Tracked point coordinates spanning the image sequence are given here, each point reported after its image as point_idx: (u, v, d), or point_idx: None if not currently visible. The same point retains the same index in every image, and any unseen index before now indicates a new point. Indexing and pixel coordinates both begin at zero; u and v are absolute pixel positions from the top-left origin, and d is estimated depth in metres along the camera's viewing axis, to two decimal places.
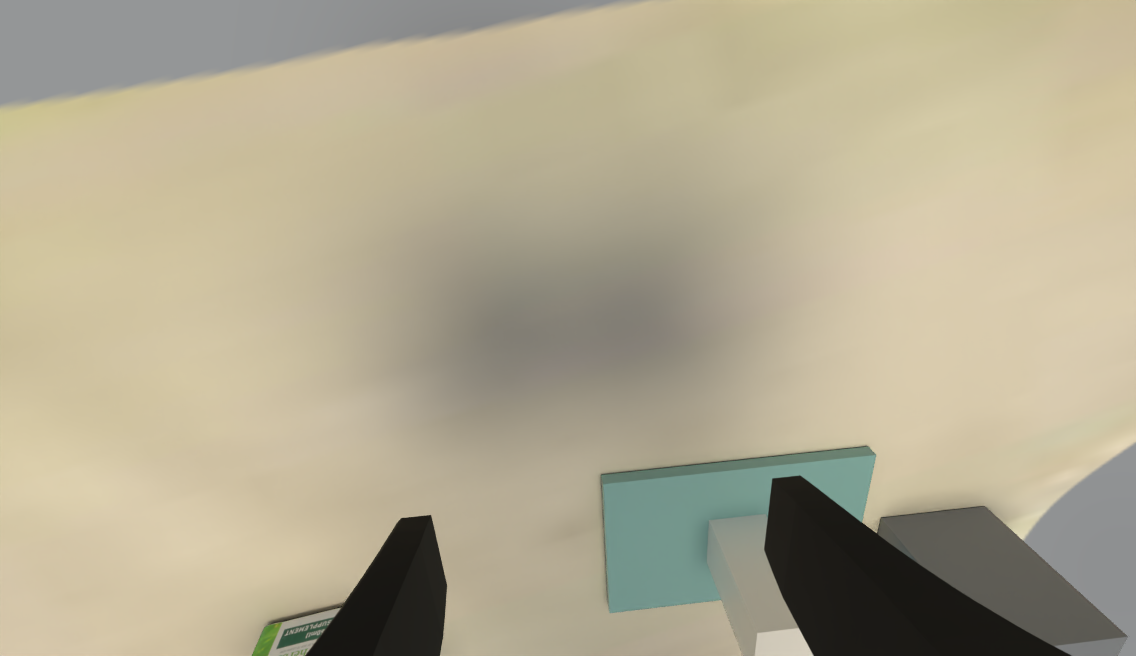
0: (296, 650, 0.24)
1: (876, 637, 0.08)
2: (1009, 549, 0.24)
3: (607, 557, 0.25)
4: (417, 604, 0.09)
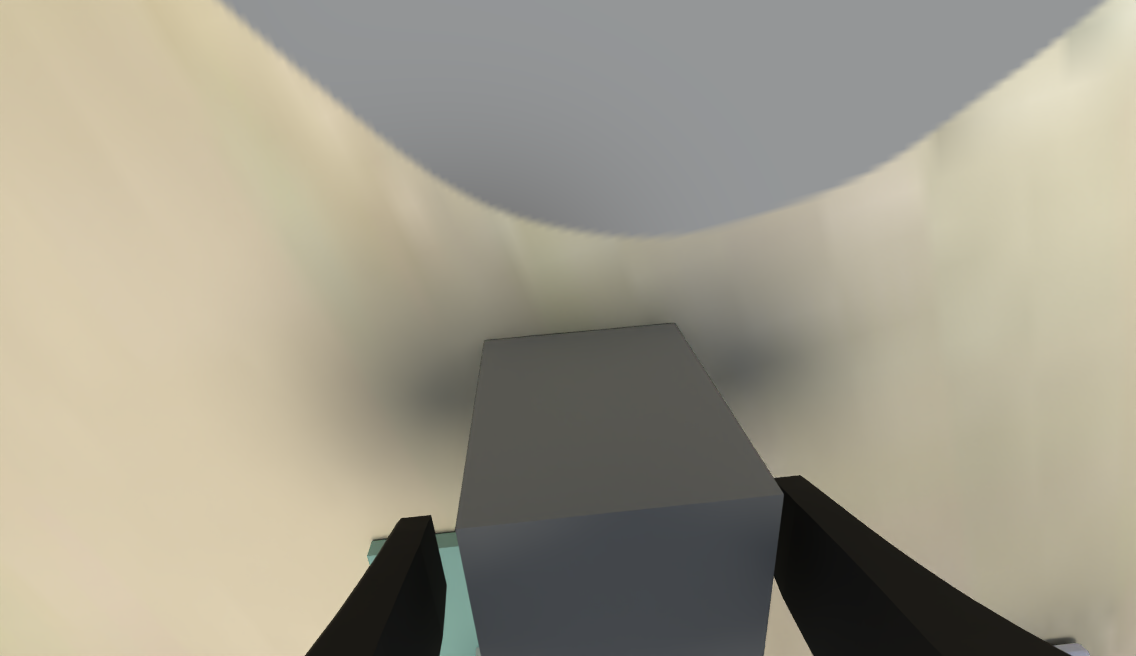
0: None
1: (876, 637, 0.08)
2: None
3: None
4: (417, 604, 0.09)
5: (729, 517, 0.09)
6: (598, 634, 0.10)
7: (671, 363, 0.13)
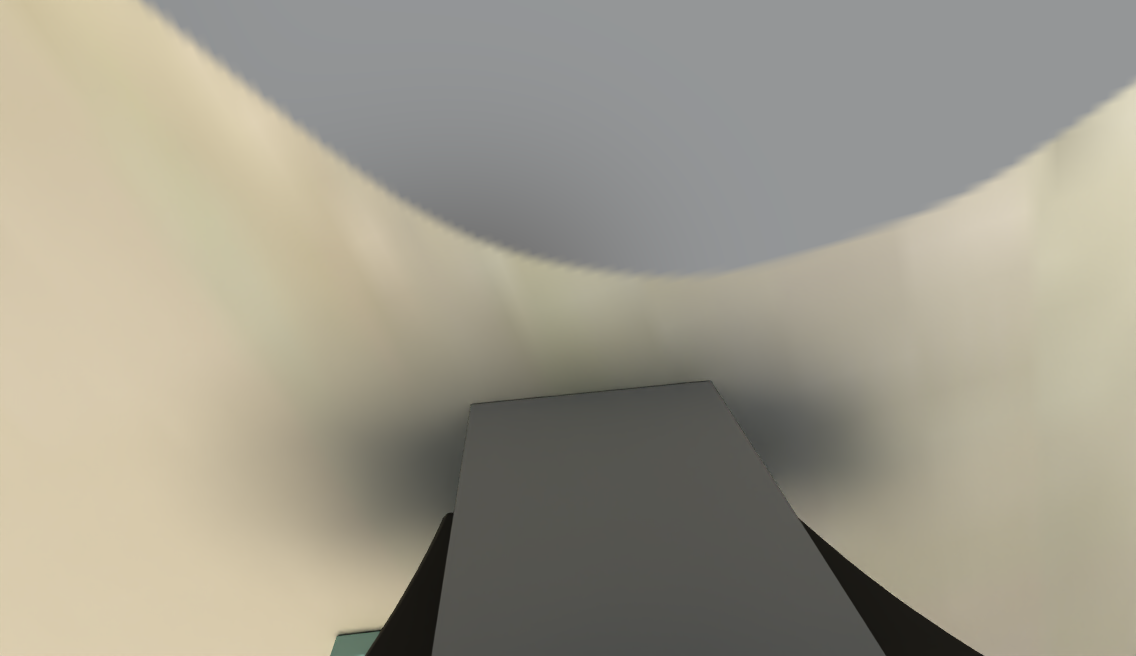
0: None
1: None
2: None
3: None
4: None
5: None
6: None
7: (714, 446, 0.10)
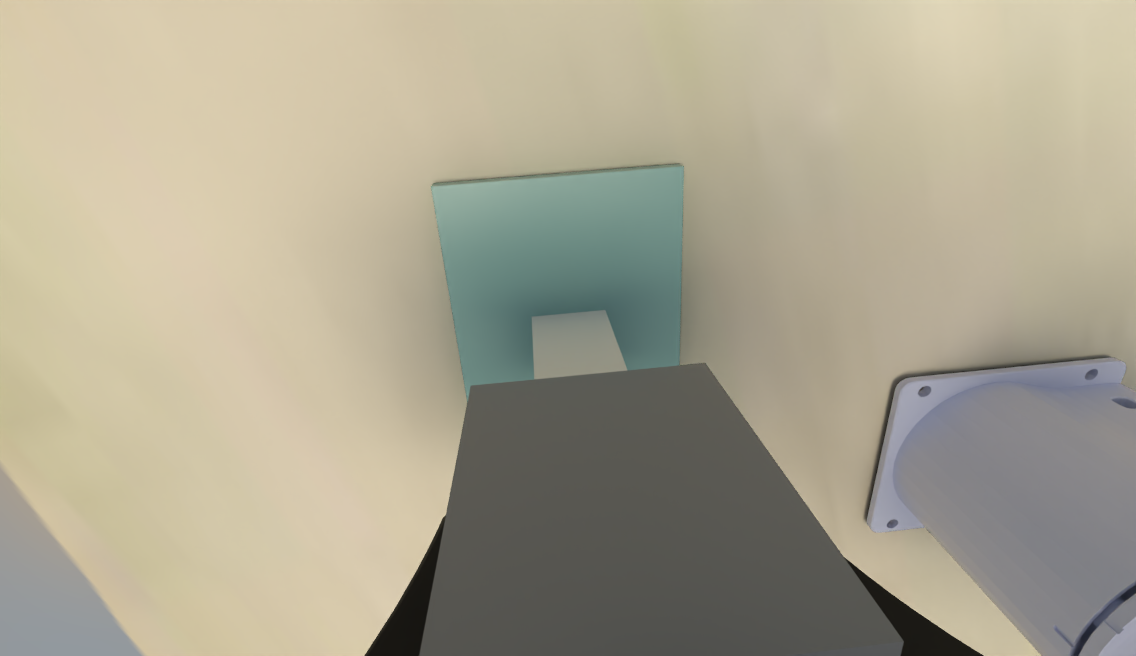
0: None
1: None
2: None
3: None
4: None
5: None
6: None
7: (707, 419, 0.10)
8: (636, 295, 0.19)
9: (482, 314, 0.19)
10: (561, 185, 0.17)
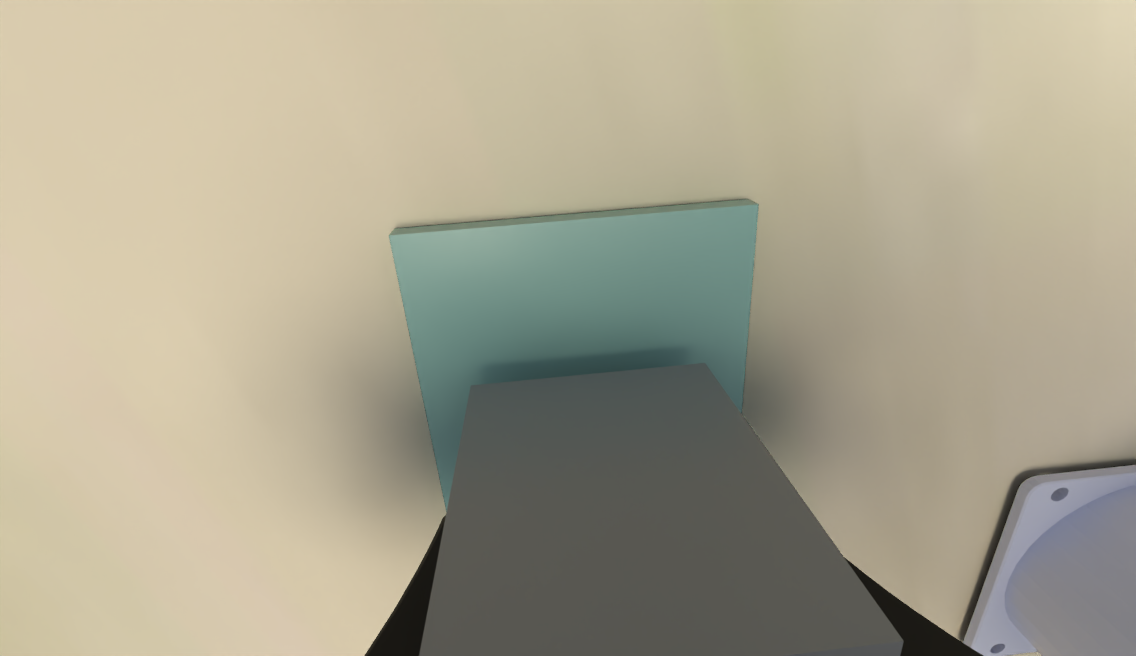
0: None
1: None
2: None
3: None
4: None
5: None
6: None
7: (707, 418, 0.10)
8: None
9: (466, 407, 0.13)
10: (580, 232, 0.12)
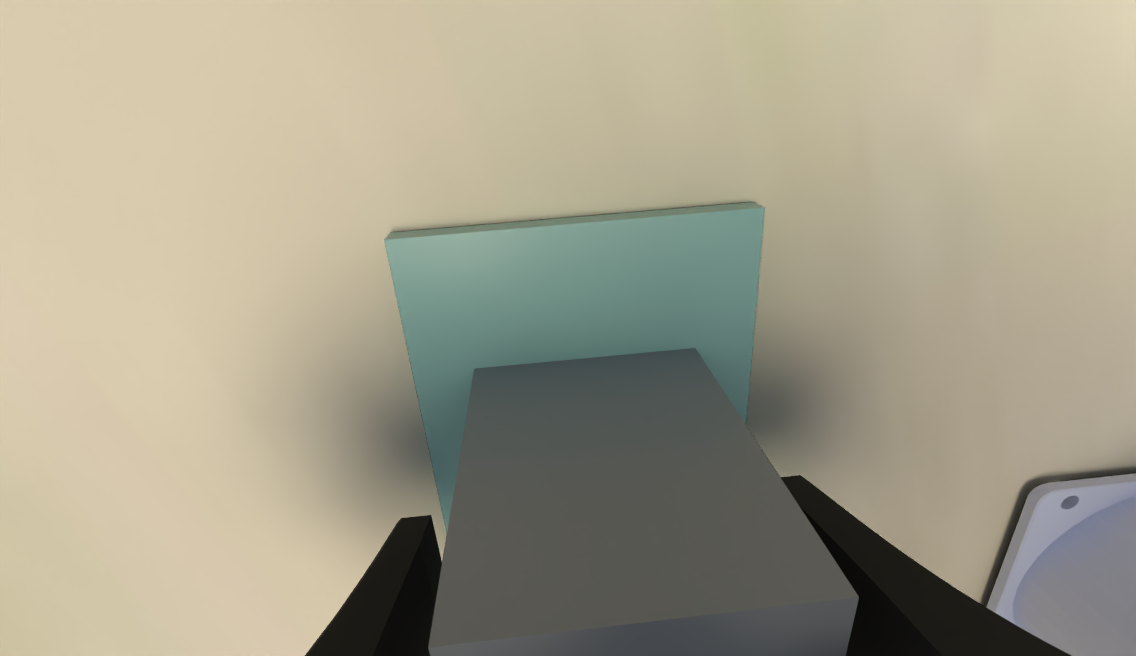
0: None
1: (876, 637, 0.08)
2: None
3: None
4: (417, 604, 0.09)
5: (785, 625, 0.07)
6: None
7: (695, 401, 0.11)
8: None
9: (465, 416, 0.13)
10: (581, 236, 0.11)
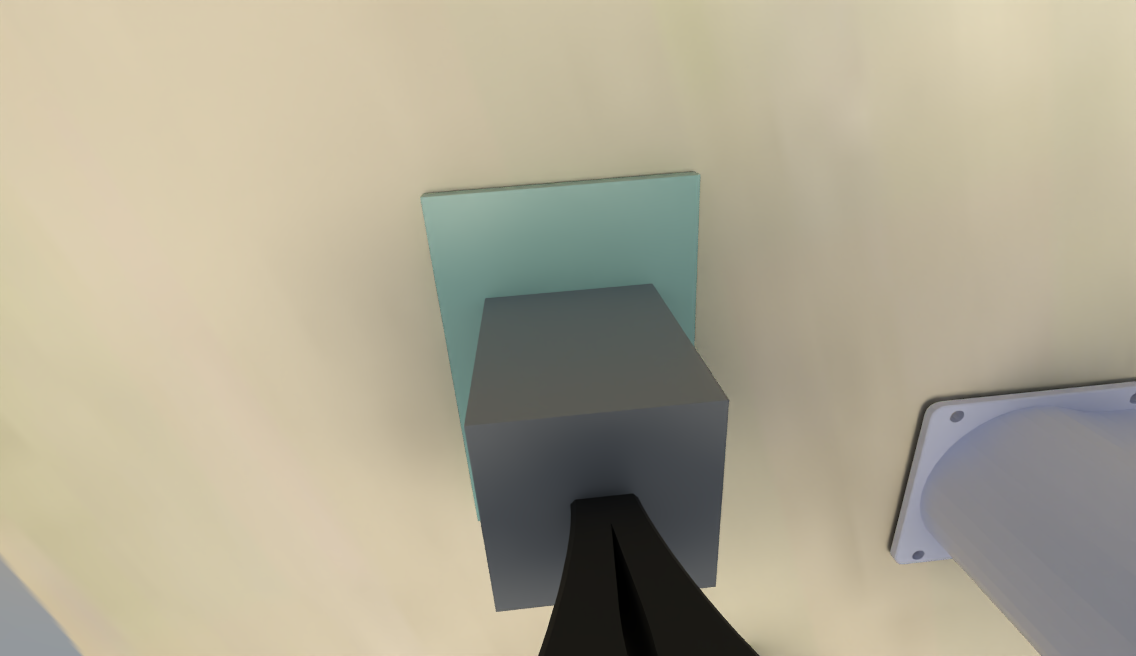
0: None
1: None
2: None
3: None
4: None
5: (684, 418, 0.11)
6: None
7: (646, 313, 0.15)
8: None
9: (477, 336, 0.17)
10: (564, 196, 0.15)
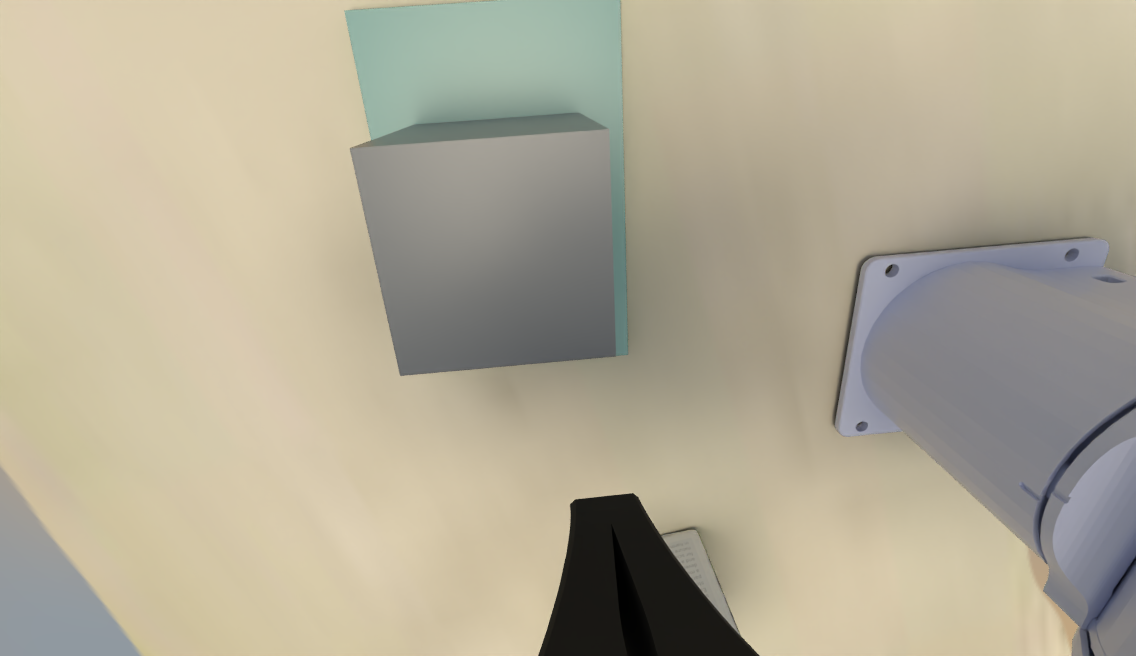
0: None
1: None
2: None
3: None
4: None
5: (567, 150, 0.11)
6: (475, 272, 0.12)
7: (562, 118, 0.15)
8: None
9: None
10: (487, 12, 0.16)
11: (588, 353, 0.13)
